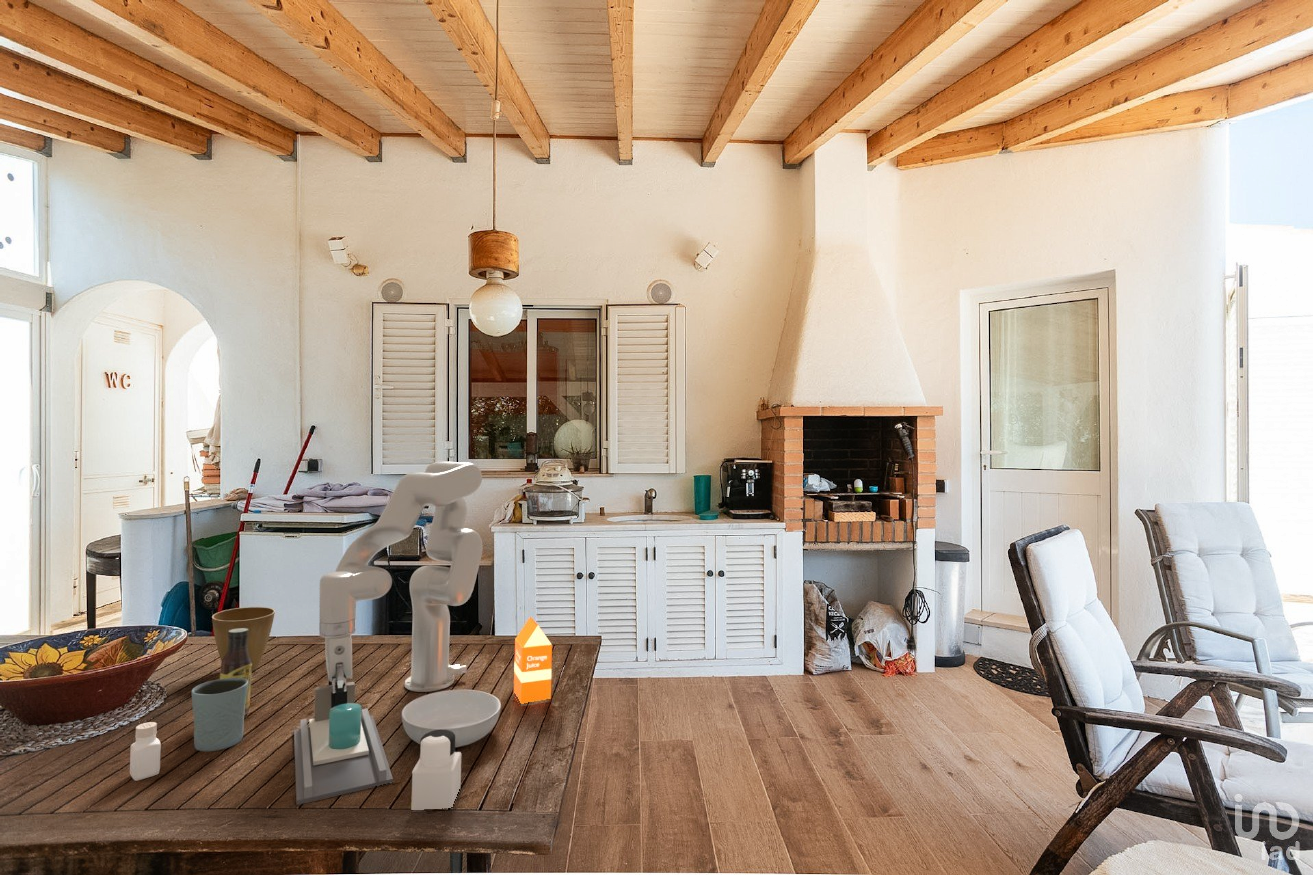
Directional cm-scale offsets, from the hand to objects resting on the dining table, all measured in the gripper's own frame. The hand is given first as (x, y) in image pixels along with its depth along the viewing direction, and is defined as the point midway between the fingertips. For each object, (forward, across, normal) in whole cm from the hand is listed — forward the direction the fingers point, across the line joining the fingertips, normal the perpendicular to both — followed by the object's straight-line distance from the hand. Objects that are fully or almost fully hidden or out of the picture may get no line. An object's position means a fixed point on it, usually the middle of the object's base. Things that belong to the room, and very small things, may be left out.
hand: (337, 700), depth 147 cm
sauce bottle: (+5, +16, +21) cm, 26 cm away
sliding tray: (+5, -10, +1) cm, 12 cm away
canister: (+3, -16, 0) cm, 16 cm away
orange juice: (+6, -6, -44) cm, 45 cm away
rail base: (+5, -18, +1) cm, 18 cm away
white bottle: (+5, -44, -13) cm, 46 cm away
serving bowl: (+6, -20, -21) cm, 29 cm away
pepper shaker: (+4, -8, +34) cm, 35 cm away
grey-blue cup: (+5, +2, +23) cm, 23 cm away
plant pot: (+6, +50, +21) cm, 54 cm away
